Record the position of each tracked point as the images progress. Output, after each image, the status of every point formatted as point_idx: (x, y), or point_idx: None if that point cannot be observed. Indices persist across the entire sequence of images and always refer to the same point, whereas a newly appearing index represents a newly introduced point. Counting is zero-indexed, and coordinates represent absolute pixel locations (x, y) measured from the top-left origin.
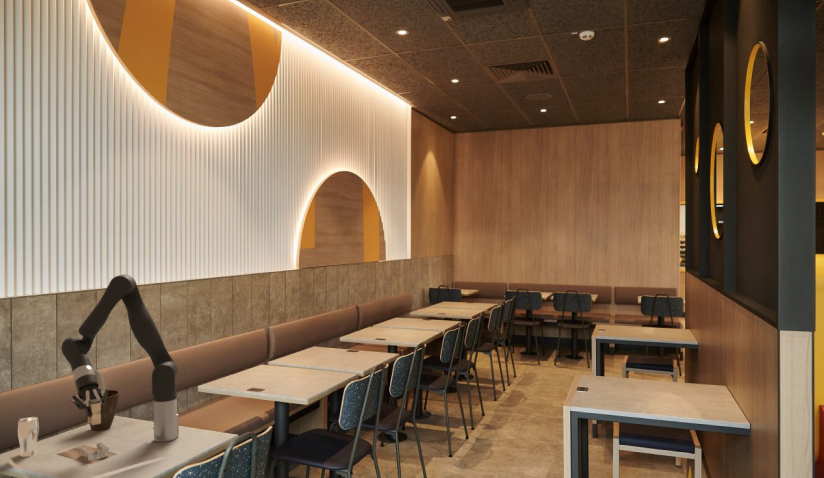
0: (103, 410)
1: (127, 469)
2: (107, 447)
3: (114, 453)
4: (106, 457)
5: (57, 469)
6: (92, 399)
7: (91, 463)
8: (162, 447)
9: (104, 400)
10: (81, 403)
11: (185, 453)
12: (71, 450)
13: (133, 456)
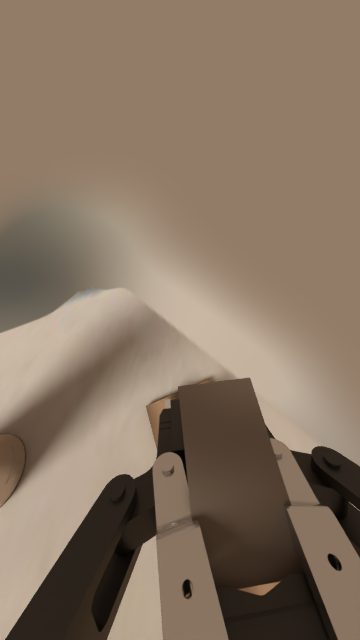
0: (160, 414)
1: (156, 322)
2: (165, 408)
3: (149, 415)
4: (172, 398)
5: (275, 423)
6: (249, 542)
7: (207, 380)
8: (49, 396)
9: (121, 485)
10: (357, 482)
11: (52, 328)
12: (255, 592)
13: (121, 382)
